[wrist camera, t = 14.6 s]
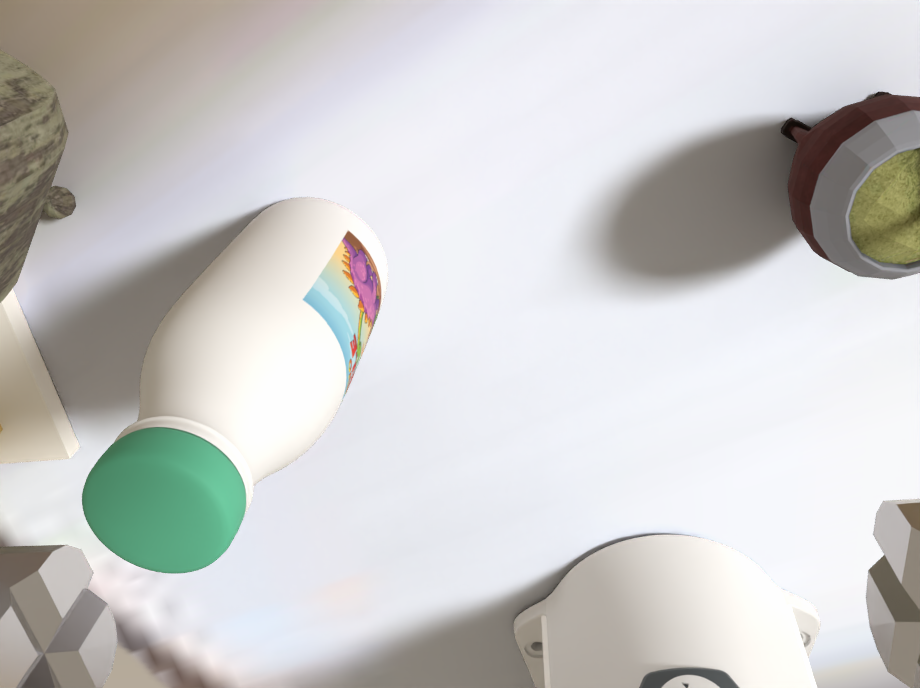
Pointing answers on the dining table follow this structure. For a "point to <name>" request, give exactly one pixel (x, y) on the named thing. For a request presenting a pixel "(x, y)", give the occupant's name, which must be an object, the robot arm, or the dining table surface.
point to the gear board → (28, 396)
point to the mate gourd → (860, 186)
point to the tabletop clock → (27, 163)
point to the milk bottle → (238, 383)
